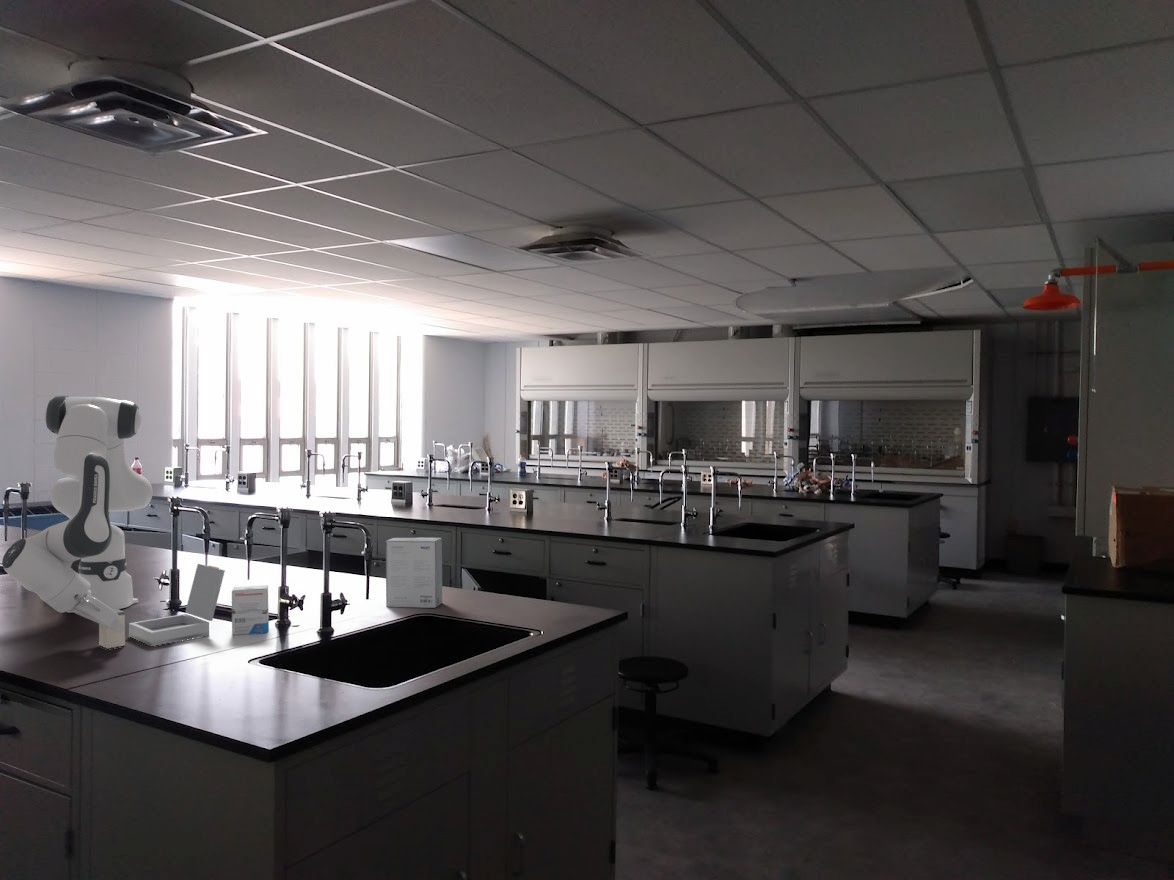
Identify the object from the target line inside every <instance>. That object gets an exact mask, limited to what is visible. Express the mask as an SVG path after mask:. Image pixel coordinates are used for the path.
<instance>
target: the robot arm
mask: <svg viewBox="0 0 1174 880" xmlns="http://www.w3.org/2000/svg"><path fill="white" fill-rule="evenodd" d="M141 415H142V414H141V412H140V409H139V406H138V405H137V404H136V403H135V402H133V401H130V400H126V399H122V400H120V399H115V398H109V397H102V396H70V395H58V396H55V397H53V398H51V399H50V400H49V402H48V404H47V405H46V408H45V411H44V422H45V424H46V428H47V430H49V431H50V432H51V433H52V434H56V435H57V438H56V441H55V445H54V450H53V464H54V466H55V467H56V469H57V470H58V472H59V473H60V474H62V475H64V476H66V477H63V478H59V479H58V480H56V481H55V482H54V483H53V485H52V487H51V489H50V494H49V499H50V502H51V504H52V506H53V507H54V508H55V509H56V511H58V512H59V513H62V514H63V515H64V516H66V517H67V518H69V519H67V520H65V521H64V520H63V521H62V522H58V523H56V524H53V525H51V526H48V527H47V528H45V529H43V530H42V531H40V532H39V533H37V534H35V535H31V536H29V537H25V538H20V539H18V540H17V541H15V542H14V543H13V544H12V545H11V546H10V547H9V548H8V549H7V550H6V551H5V554H3V557H2V561H1V564H2V567H3V570H4V571H5V572H6V573H7V574H8V575H9V576H10V578H12V579H13V580H14V581H15V582H17V583H18V584H19V585H20V586H22V587H23V588H24V589H26V590H27V591H30V592H33V593H35V594H36V595H37V596H38V597H39V598H40V600H42V601H43V602H44V603H46V604H47V605H49V606H50V607H51V608H52V609H54V610H55V611H56V612H58V613H59V614H60V613H70V614H71V613H74V614H76V615H78V616H81V617H83V618H85V619H88V620H90V621H91V622H94V623H96V624H98V625H99V624H101V625H103V626H105V627H111V628H113V629H114V630H115V631H117V632H119V633H122V631H123V630H124V629H125V630H126V625H125V626H123V625H122V624H121V623H120V622H119V621H118V620H117V619H118V617H119V615H118V614H117V613H116V612H115V611H113V610H112V609H119V610H121V609H124V608H128V607H130V606H132V605H134V604H137V603H139V598H135V597H134V591H133V578H132V575H130V574H129V573H128V572H127V571H126V570H127V568H128V567H127V565H128V562H127V558H126V557H125V554H126V553H125V552H126V549H125V547H126V544H125V541H126V540H125V539H126V537H125V532H124V531H123V530H122V529H121V528H120V527H118V526H117V525H114V524H112V523H111V520H110V514H109V513H113V512H114V513H115V512H116V513H117V512H118V513H119V512H131V511H135V510H140V509H145V508H146V507H147V506H148V505H149V504H150V503H151V501H152V498H153V495H154V493H153V486H152V483H151V482H150V481H149V480H148V478H147V477H145V476H144V475H141V474H139V473H138V472H137V471H135V470H134V469H133V468H132V467H131V466H130V465H129V463H128V461H127V460H126V454H125V446H124V445H125V444H124V443H125V442H124V440H125V439H131V438H132V437H133V436H135V435H137V433H138V431H139V429H140V426H141V424H142V416H141ZM78 560H80V561H79V565H78V571H75V570H74V569H73V568H72V564H73V563H74V562H76V561H78Z"/></svg>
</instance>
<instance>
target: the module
mask: <svg viewBox="0 0 1174 880" xmlns="http://www.w3.org/2000/svg"><path fill="white" fill-rule="evenodd" d="M112 610H113V611H115V612H116V613H117V614H118V615H119V617H118V619H117V620H118V621H119V622H120V623H121V624H122V625H123V626H125V627H126V623H125V621H126V620H125V619H126V617H125V613H126V611H125V610H121V609H112ZM125 630H126V628H125V629H124V630H123V631H122V633H119V632H117V631H115V630H114V629H113V628H111V627H105V626H103V625H101V624H99V623H98V646H99V645H101V646H103V647H106V648H111V647H116V646H123V645H125V646H126V631H125Z"/></svg>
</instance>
